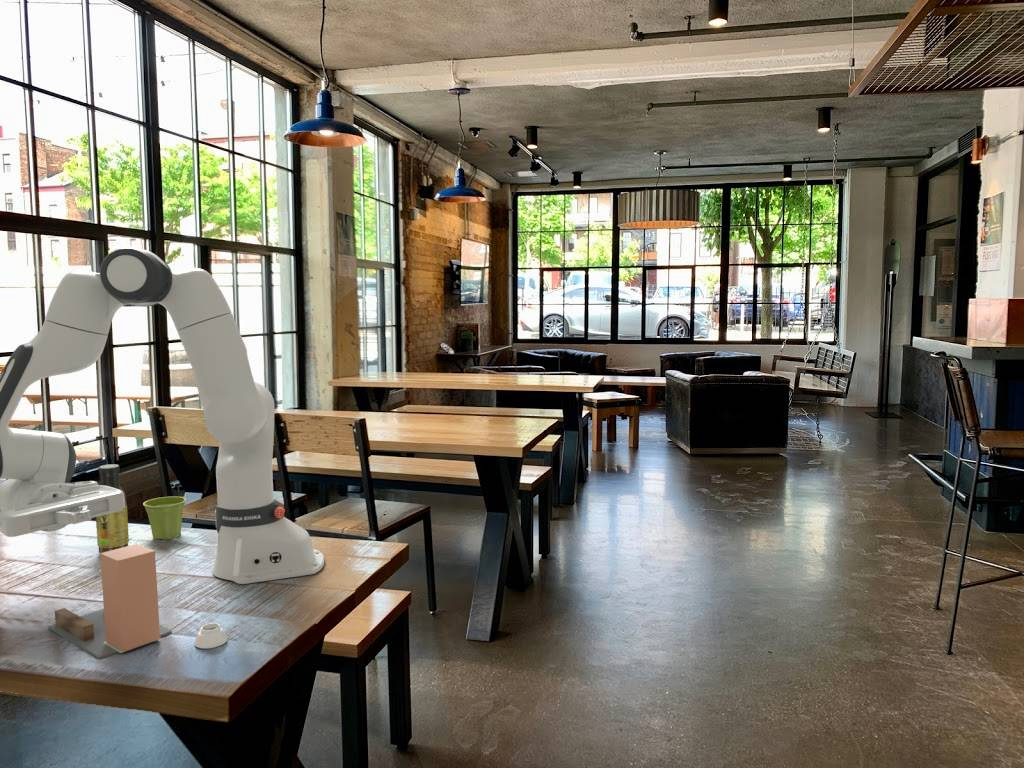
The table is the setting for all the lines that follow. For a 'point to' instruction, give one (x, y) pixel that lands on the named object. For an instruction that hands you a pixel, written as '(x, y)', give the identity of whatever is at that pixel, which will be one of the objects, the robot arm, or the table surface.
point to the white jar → (210, 636)
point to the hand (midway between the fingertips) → (82, 517)
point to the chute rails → (74, 624)
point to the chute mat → (97, 636)
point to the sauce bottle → (112, 515)
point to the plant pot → (165, 516)
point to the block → (130, 596)
